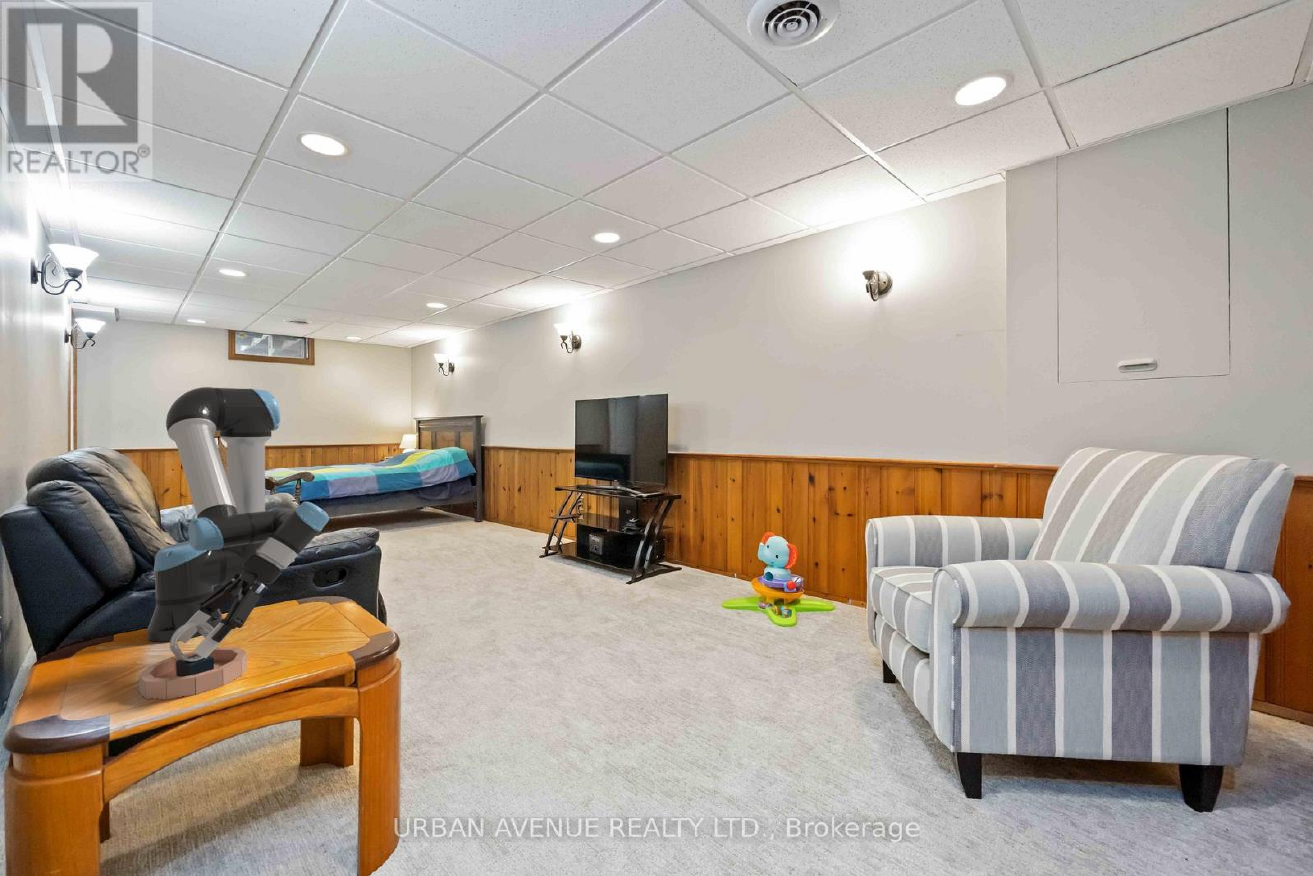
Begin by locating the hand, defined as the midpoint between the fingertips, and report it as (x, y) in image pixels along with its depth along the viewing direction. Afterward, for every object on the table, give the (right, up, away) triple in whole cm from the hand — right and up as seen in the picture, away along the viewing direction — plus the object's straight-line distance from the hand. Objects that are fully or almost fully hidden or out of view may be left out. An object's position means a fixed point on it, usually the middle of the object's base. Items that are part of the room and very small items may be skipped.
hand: (188, 647), depth 116 cm
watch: (0, -6, +2) cm, 7 cm away
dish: (+1, -7, +1) cm, 7 cm away
